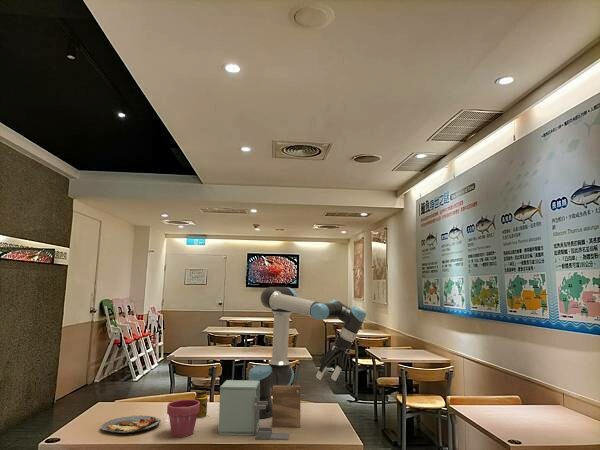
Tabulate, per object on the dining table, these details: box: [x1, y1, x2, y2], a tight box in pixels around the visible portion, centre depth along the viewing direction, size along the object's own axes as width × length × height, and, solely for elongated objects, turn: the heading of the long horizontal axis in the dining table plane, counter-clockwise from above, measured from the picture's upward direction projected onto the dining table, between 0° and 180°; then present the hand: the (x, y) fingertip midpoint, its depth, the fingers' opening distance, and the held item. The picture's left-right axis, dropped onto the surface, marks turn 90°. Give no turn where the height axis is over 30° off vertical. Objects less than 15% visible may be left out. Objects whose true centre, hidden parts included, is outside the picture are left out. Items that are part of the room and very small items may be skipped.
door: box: [271, 384, 302, 429], centre depth 196 cm, size 4×13×18 cm, turn 88°
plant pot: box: [166, 399, 200, 438], centre depth 185 cm, size 14×14×13 cm
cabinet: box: [218, 379, 290, 441], centre depth 188 cm, size 20×31×20 cm, turn 88°
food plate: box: [100, 414, 161, 434], centre depth 192 cm, size 25×23×4 cm
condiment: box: [194, 389, 210, 420], centre depth 210 cm, size 7×8×12 cm
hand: (325, 378), depth 197 cm, fingers open, 13 cm apart
